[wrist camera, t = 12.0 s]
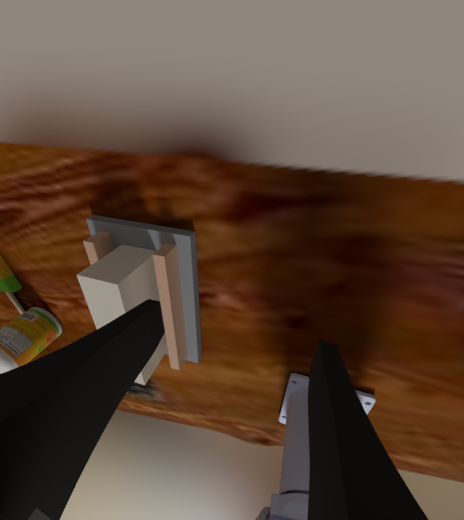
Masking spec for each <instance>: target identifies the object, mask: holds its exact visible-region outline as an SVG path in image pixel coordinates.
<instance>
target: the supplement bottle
mask: <svg viewBox="0 0 464 520" xmlns="http://www.w3.org/2000/svg"><path fill="white" fill-rule="evenodd" d="M61 333H62V326H61V324H60V322H59V321H58V319H57V318H56V317H55V316H54V315H52V314H51V313H50V312H48V311H46V310H45V309H42V308H39V307H33V308H31V309H29V310H27V311H26V312H24V313H23V314H21V315H20V316H18V317H17V318H16V319H14V320H13V321H11V322H10V323H8V324H7V325H5V326H4V327H2V328H1V329H0V374H2V373H4V372H7V371H10V370H12V369H15V368H17V367H20V366H22V365H24V364H27V363H28V362H29V361H30V360H31V359H33V358H34V357H35V356H36V355H37V354H38V353H40V352H41V351H42V350H43V349H44V348H45V347H46V346H48V345H49V344H50V343H51V342H52V341H53V340H55V339H56V338H57V337H58V336H59V335H60V334H61Z"/></svg>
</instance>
